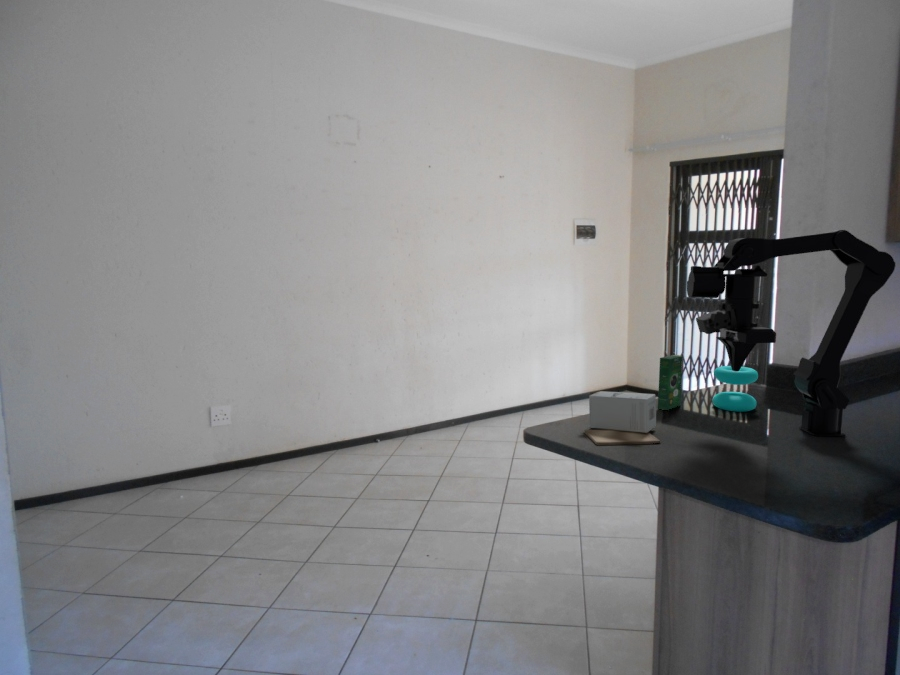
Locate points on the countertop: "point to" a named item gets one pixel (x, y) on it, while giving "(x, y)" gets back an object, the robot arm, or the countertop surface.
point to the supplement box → (622, 411)
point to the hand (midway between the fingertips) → (735, 371)
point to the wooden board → (620, 437)
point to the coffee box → (670, 382)
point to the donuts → (735, 399)
